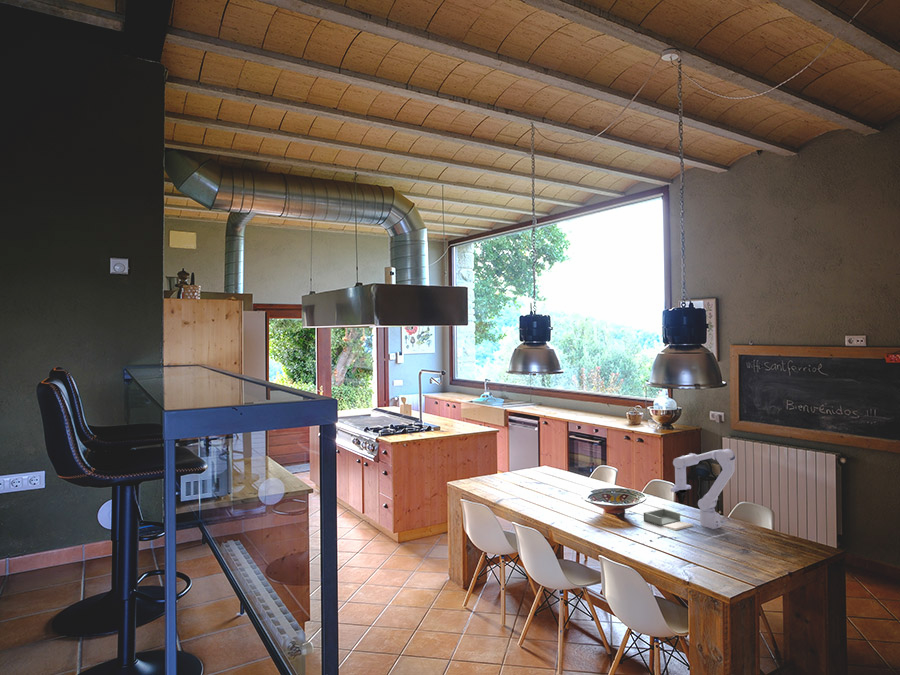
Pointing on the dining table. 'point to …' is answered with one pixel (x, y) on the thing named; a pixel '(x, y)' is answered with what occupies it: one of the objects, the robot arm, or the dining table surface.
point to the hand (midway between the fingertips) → (681, 503)
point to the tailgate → (678, 525)
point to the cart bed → (661, 517)
